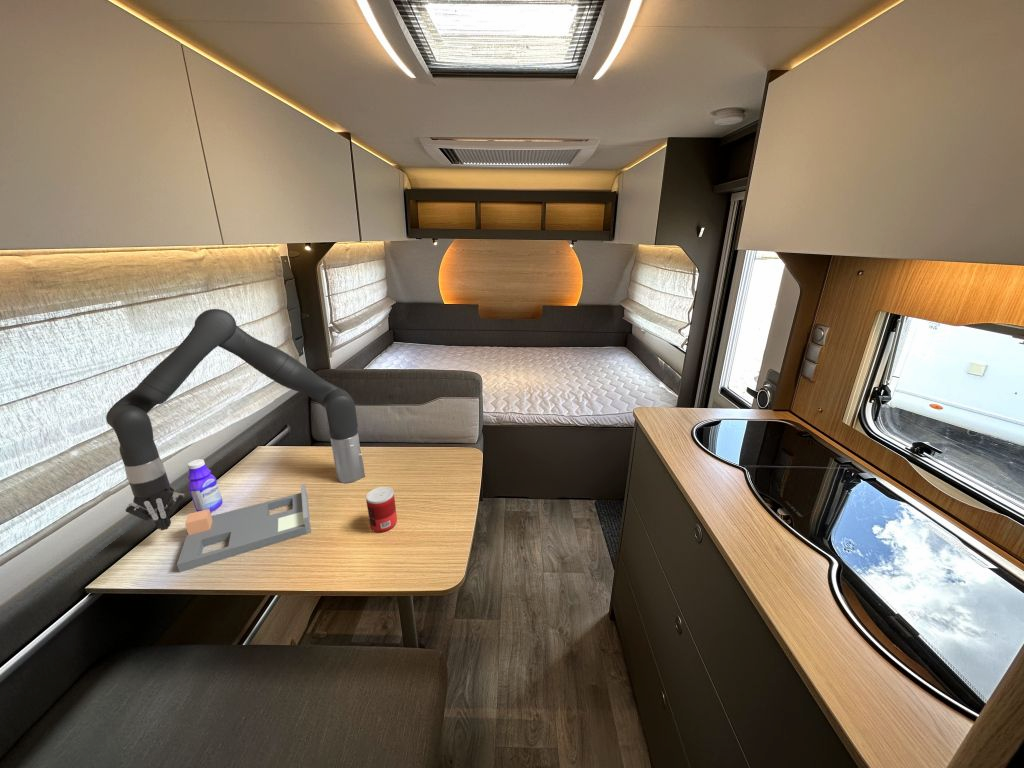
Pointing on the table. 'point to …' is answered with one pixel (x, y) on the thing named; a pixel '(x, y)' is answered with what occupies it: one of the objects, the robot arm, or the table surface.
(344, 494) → the table surface
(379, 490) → the canned food
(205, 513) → the block
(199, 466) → the bottle
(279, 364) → the robot arm
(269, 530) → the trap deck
